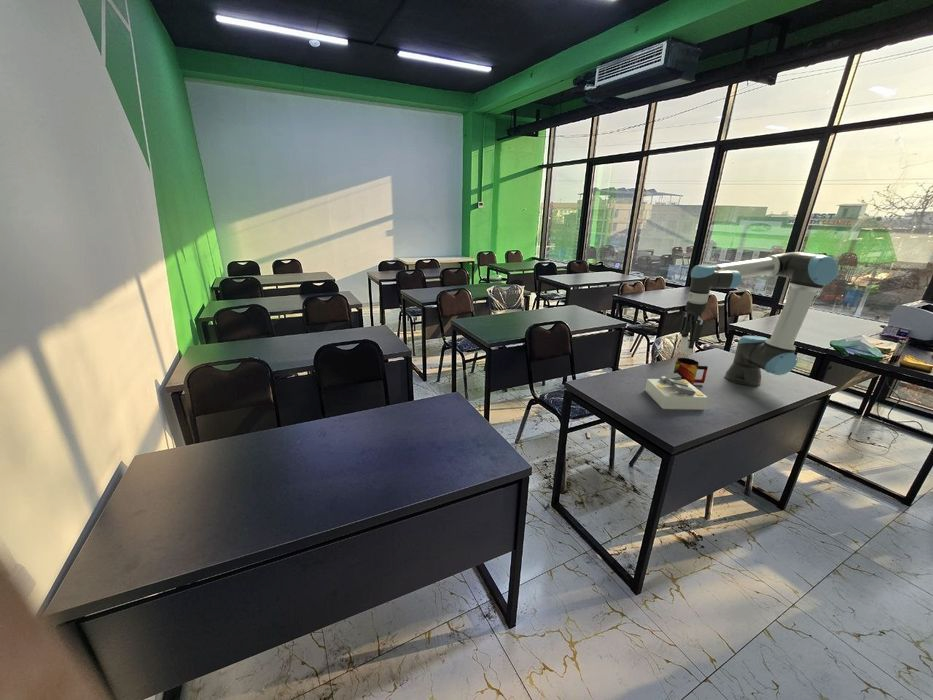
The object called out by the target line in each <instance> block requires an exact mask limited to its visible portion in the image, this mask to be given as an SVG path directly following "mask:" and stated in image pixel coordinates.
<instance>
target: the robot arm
mask: <svg viewBox="0 0 933 700" xmlns="http://www.w3.org/2000/svg"><path fill="white" fill-rule="evenodd" d="M838 273H839V266H838V262H837V260H836V259H835V258H834V257H832V256H830V255H829V256H828V255H825V254H819V253H809V252H804V251H803V252H802V251H791V252H784V253H783V252H782V253H778V254H777V253H776V254H770V255H766V256H765V257H764V258H763V257H762V258H756V259H749V260H740V261H733V262H726V263H725V262H724V263H720V264H719V263H718V264H717V263H716V264H710V265H706V264H697V265H694V266H693V268H692V269H691V271H690V277H691V281H690V286H689V292H688V294H687V302H686V304H685V310H686V312H682V318H681V323H680V328H679V334H680V335H681V340H680V343H679V345H680V346H679V349H678V350H679V352H684V355H685V356H692V354H693V350H694V348H695V343H696V342H699V341H700V338H701V334H702V329H703V326H704V324H705V319H702V314H703V313H705V312H706V309H707V303H708V301H709V297H710V292H711V289H725V290H726V289H727V290H728V289H736V288H737V287H739V286H740V285H741V282H742V278H743V279H744V278H750V277H751V278H752V277H760V276H767V277H782V278H788V279H789V282H788V284H789V285H790V288H791V289H790V291H789V292H788V296H787V298H786V300H785V303H784V304H783V308H782V310H781V312H780V315H779V317H778V319H777V322H776V325H775V327H774V329H773V331H772V334H771V336H770V338H767V337H765V336H759V335H758V336H757V335H743V336H741V337H740V338H739V340H738V342H737V346H736V349H735V353H734V356H733V357H734V358H733V361H732V363H731V365H730V366H729V368H728V369H727V370H726V372H725V375H724V376H725V379H727V380H728V381H730V382H733V383H735V384H739V385H743V386H747V387H748V386H749V387H751V386H752V387H756V386H760V385H761V382H762V372H761V371H762V370H764V371H765V372H767V373H768V374H772V375H775V376H783V375H785V374H788V373H790V372H791V371H793V370H794V368H795V367H796V366H797V363H798V357H797V355H796V354H795V351H796V350H797V348H796V347H795V345H794V343H795V342H796V341H795V340H797V337H798V334H799V332H800V330H801V327H802V325H803V323H804V321H805V319H806V316H807V314H808V311H809V309H810V307H811V304H812V303H813V300H814V298H815V296H816V293H817V292H819V291H822V290H823V288H824V287H825V285H828V284H830V283H832V281H834V280H835V278H836V277H837V275H838ZM761 369H762V370H761Z"/></svg>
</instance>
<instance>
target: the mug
mask: <svg viewBox="0 0 933 700" xmlns="http://www.w3.org/2000/svg"><path fill="white" fill-rule="evenodd" d="M675 360H676V361H675V364H674V365H675V366H674V370H673V373H672V374H674V373H678V374H679V375H680V376H681V379H685V380H687V381H688V382H689V383H690V384H692V385H693V386H694V385H695V384H705V381H706V377H707V372H708V366H707V365H699V364H700V363H699V362H698V360H695V359H693V358H688V357H677V358H676V359H675ZM698 370H703V371H702V373H703V374H702V377H701V379H698V378H696V376H697V372H698Z"/></svg>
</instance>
